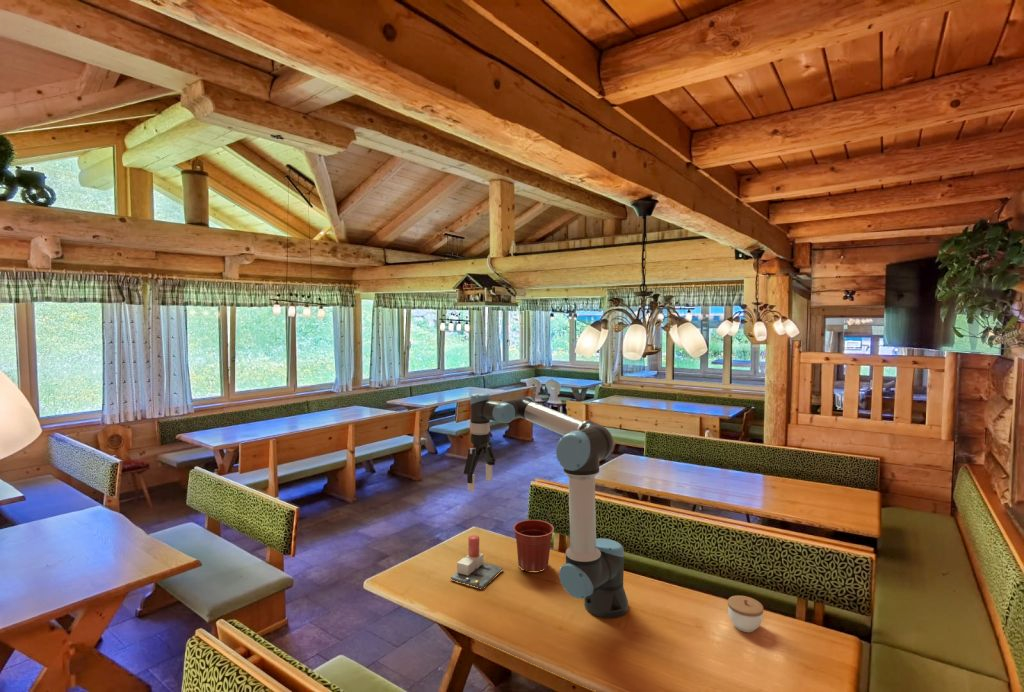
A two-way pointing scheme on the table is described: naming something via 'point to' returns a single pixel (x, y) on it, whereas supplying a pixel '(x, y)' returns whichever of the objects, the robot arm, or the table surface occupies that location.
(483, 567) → the panel
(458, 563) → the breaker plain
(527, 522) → the flower pot
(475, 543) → the lockout cap
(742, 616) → the lidded jar
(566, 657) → the table surface
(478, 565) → the block
